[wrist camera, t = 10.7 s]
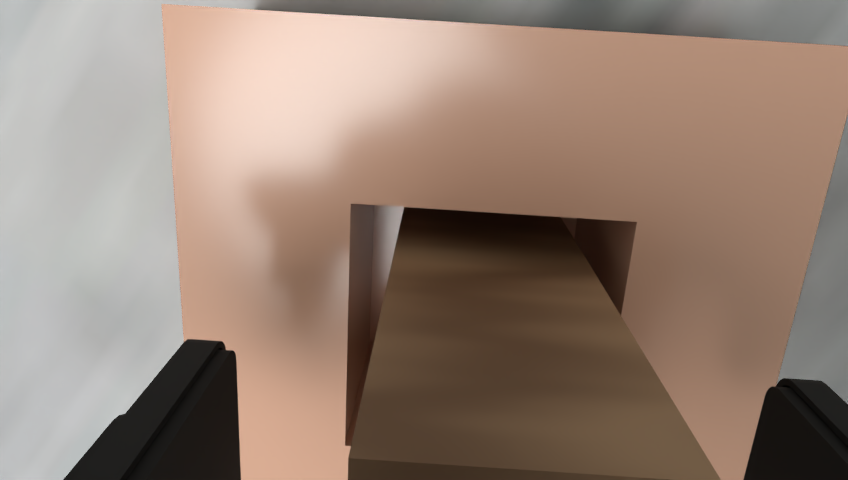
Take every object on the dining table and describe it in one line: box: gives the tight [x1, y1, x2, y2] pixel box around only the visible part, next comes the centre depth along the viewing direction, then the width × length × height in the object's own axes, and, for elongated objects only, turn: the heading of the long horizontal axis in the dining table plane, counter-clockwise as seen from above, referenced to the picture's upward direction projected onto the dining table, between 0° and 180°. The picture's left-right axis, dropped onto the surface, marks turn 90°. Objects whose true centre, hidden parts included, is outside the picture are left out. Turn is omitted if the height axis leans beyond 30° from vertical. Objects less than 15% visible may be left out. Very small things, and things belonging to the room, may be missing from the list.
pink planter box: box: [162, 4, 848, 480], centre depth 17 cm, size 13×13×6 cm
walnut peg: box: [348, 207, 721, 480], centre depth 13 cm, size 4×4×12 cm
